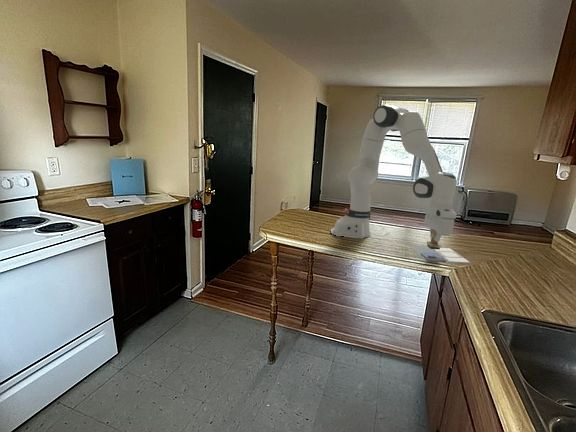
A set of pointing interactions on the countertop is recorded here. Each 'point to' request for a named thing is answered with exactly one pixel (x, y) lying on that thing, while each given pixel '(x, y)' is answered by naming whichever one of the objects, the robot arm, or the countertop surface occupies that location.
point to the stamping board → (439, 255)
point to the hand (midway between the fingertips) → (434, 239)
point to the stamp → (433, 242)
